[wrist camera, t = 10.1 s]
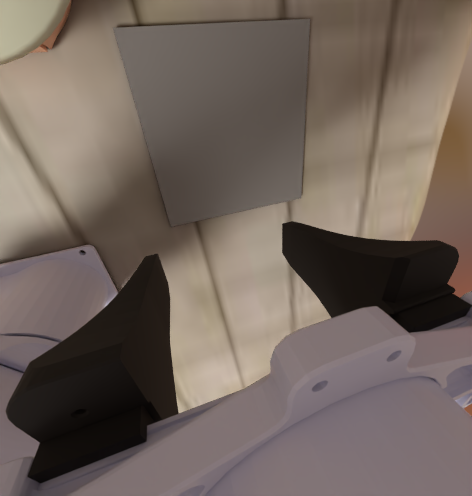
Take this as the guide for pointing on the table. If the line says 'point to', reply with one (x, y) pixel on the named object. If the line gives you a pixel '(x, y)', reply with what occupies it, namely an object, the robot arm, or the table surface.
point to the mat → (221, 112)
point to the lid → (27, 25)
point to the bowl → (51, 39)
